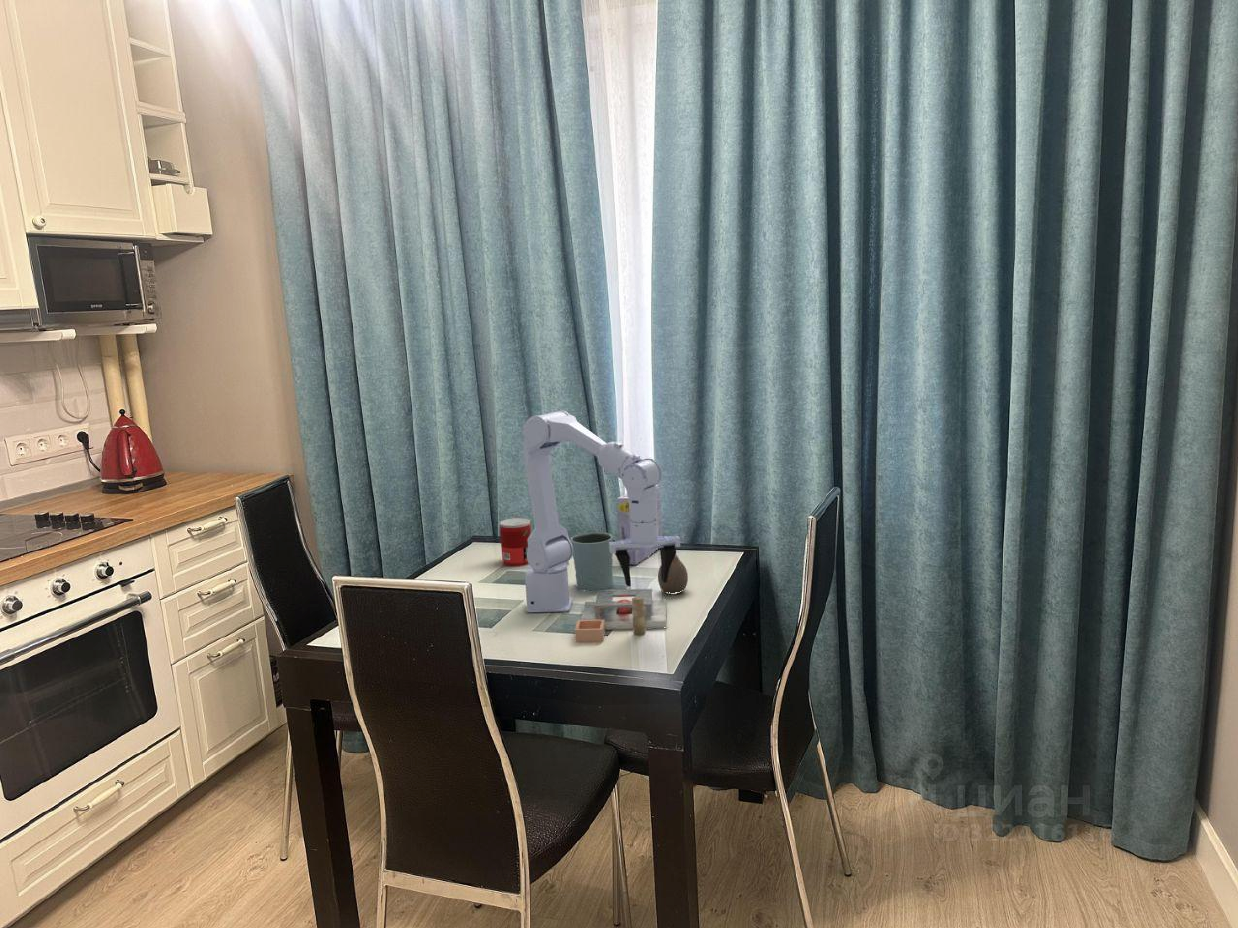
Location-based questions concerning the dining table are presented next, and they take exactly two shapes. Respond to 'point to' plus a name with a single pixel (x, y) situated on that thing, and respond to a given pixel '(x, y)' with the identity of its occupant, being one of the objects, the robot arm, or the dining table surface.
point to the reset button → (624, 609)
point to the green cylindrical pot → (593, 561)
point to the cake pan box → (624, 527)
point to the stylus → (638, 616)
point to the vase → (674, 577)
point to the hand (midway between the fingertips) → (646, 582)
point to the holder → (589, 630)
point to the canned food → (515, 541)
